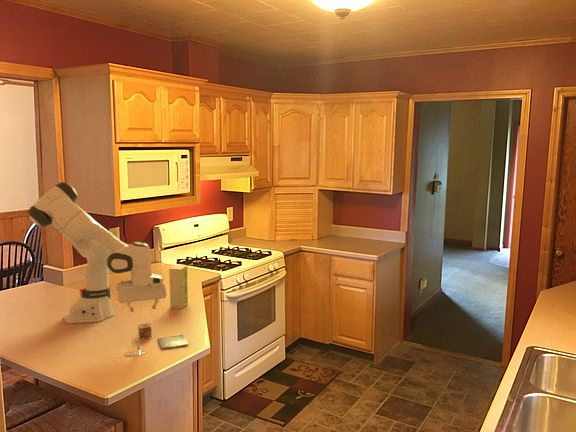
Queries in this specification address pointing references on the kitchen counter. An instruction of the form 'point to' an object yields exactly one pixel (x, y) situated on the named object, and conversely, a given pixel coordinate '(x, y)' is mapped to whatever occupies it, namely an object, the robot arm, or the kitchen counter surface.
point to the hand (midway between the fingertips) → (143, 309)
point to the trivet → (172, 342)
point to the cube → (144, 330)
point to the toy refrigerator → (178, 286)
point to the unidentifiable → (135, 352)
